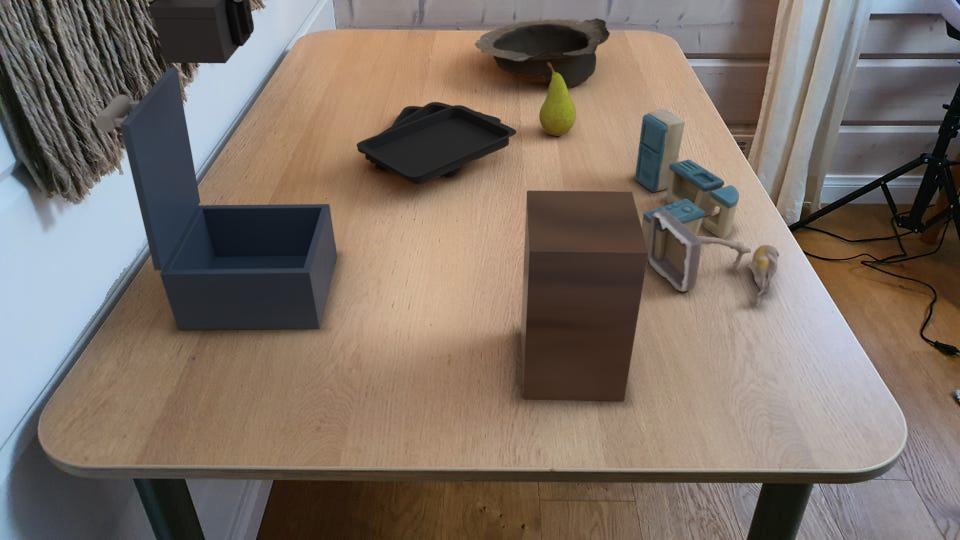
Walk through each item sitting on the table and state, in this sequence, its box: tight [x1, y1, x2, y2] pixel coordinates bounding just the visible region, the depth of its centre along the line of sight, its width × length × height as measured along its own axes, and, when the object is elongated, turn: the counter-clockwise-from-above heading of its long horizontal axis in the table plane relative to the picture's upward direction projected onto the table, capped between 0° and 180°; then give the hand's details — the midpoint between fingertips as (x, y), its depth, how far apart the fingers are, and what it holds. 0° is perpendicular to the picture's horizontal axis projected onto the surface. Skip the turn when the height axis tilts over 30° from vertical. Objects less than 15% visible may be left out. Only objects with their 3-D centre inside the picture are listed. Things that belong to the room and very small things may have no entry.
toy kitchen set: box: [634, 108, 740, 260], centre depth 96 cm, size 18×14×11 cm
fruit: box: [538, 62, 577, 137], centre depth 116 cm, size 6×6×12 cm
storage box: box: [159, 203, 338, 331], centre depth 84 cm, size 16×14×8 cm
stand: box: [520, 189, 648, 402], centre depth 71 cm, size 10×10×18 cm
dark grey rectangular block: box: [147, 0, 240, 64], centre depth 68 cm, size 9×6×5 cm, turn 178°
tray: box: [356, 101, 517, 185], centre depth 111 cm, size 30×23×5 cm
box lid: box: [94, 67, 201, 271], centre depth 77 cm, size 16×14×5 cm
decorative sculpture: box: [647, 210, 780, 307], centre depth 85 cm, size 16×10×7 cm, turn 89°
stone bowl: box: [474, 17, 611, 90], centre depth 137 cm, size 25×25×9 cm
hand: (208, 39), depth 69 cm, fingers closed on dark grey rectangular block, 5 cm apart
